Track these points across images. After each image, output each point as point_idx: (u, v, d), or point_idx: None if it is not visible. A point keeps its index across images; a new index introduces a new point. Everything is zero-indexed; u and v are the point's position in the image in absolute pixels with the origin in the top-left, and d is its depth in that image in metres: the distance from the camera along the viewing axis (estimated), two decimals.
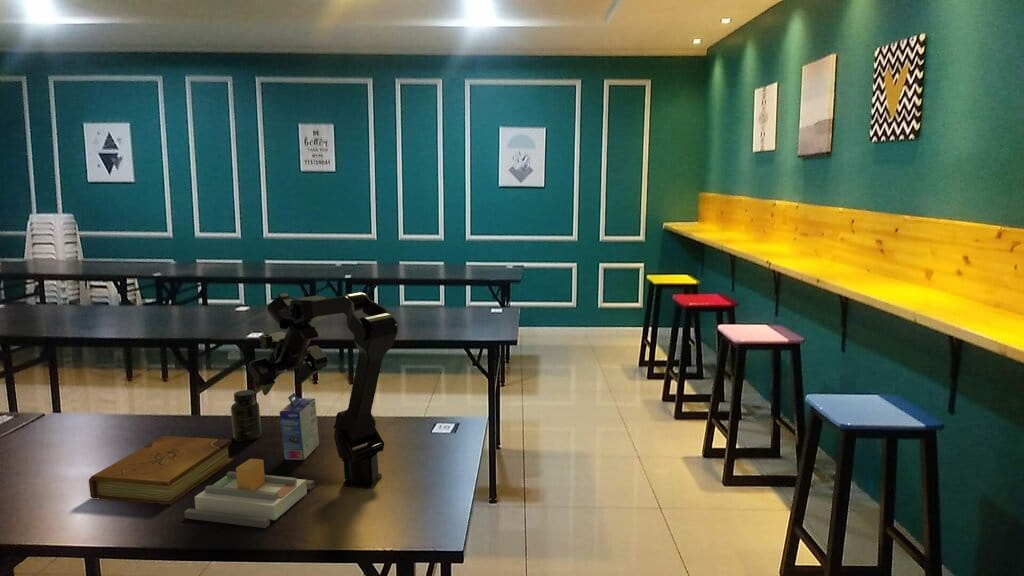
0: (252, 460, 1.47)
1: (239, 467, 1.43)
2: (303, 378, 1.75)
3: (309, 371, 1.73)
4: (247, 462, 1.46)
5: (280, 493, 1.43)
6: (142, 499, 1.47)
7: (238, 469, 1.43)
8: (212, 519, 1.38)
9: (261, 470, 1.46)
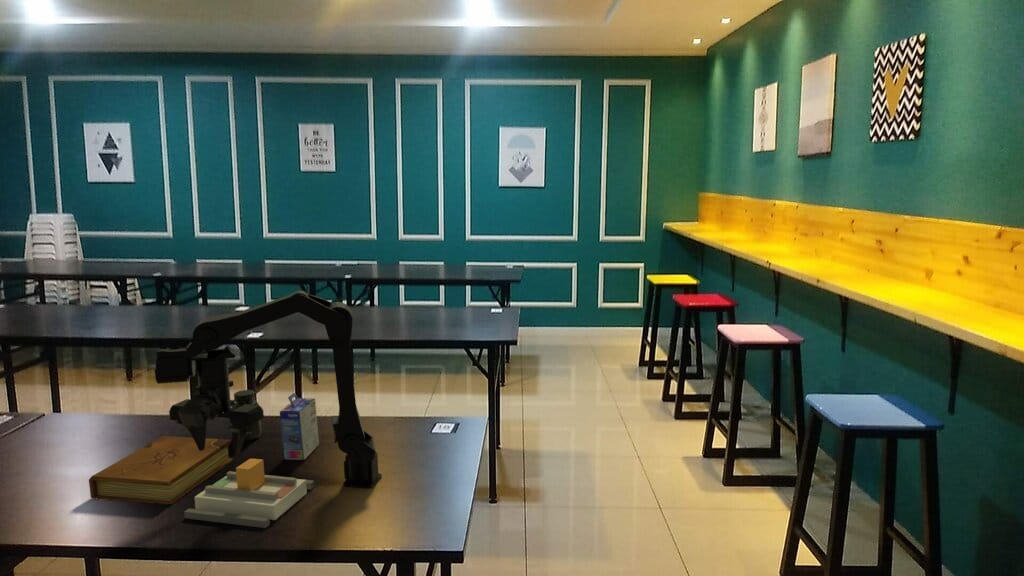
0: (252, 460, 1.47)
1: (239, 467, 1.43)
2: (204, 433, 1.48)
3: None
4: (247, 462, 1.46)
5: (280, 493, 1.43)
6: (142, 499, 1.47)
7: (238, 469, 1.43)
8: (212, 519, 1.38)
9: (261, 470, 1.46)
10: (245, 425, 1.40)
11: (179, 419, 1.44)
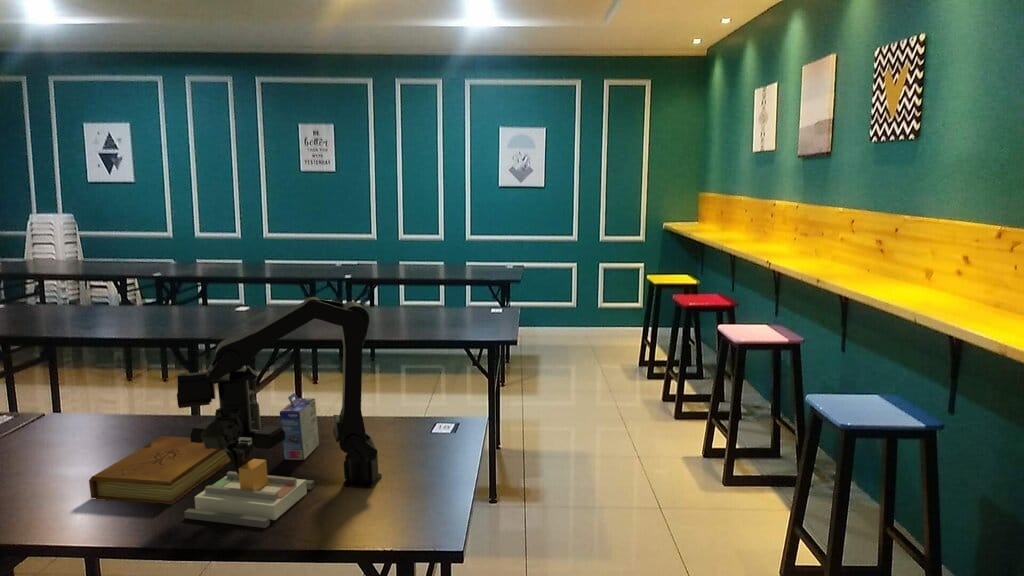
0: (255, 460, 1.46)
1: (242, 467, 1.43)
2: None
3: None
4: (250, 462, 1.45)
5: (280, 493, 1.43)
6: (143, 499, 1.47)
7: (241, 469, 1.43)
8: (212, 519, 1.38)
9: (263, 470, 1.46)
10: (267, 447, 1.40)
11: (200, 441, 1.43)
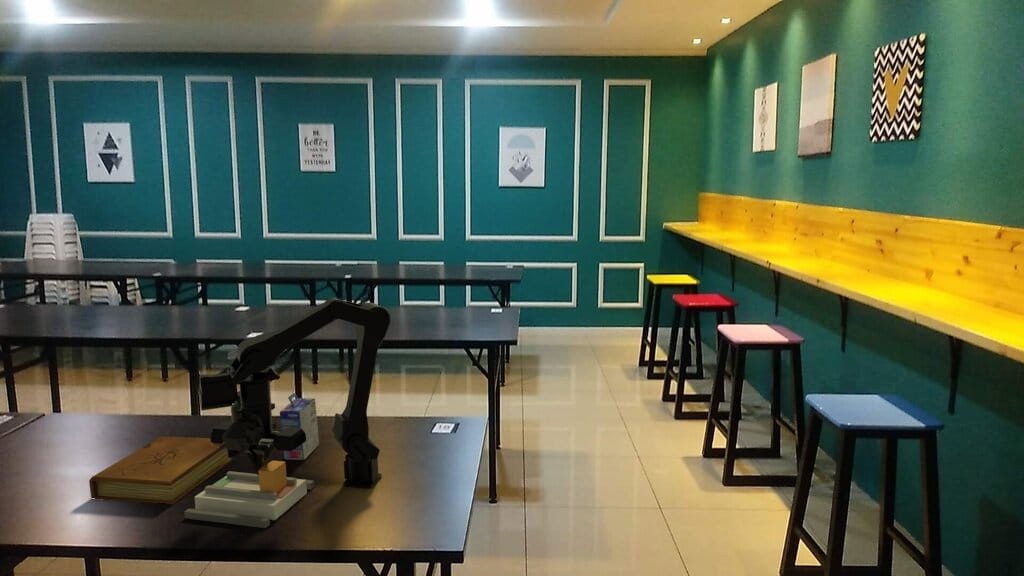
0: (274, 462, 1.45)
1: (262, 469, 1.42)
2: None
3: None
4: (269, 464, 1.44)
5: (280, 493, 1.43)
6: (144, 499, 1.47)
7: (261, 471, 1.42)
8: (212, 519, 1.38)
9: (283, 472, 1.45)
10: (289, 449, 1.39)
11: (220, 442, 1.42)
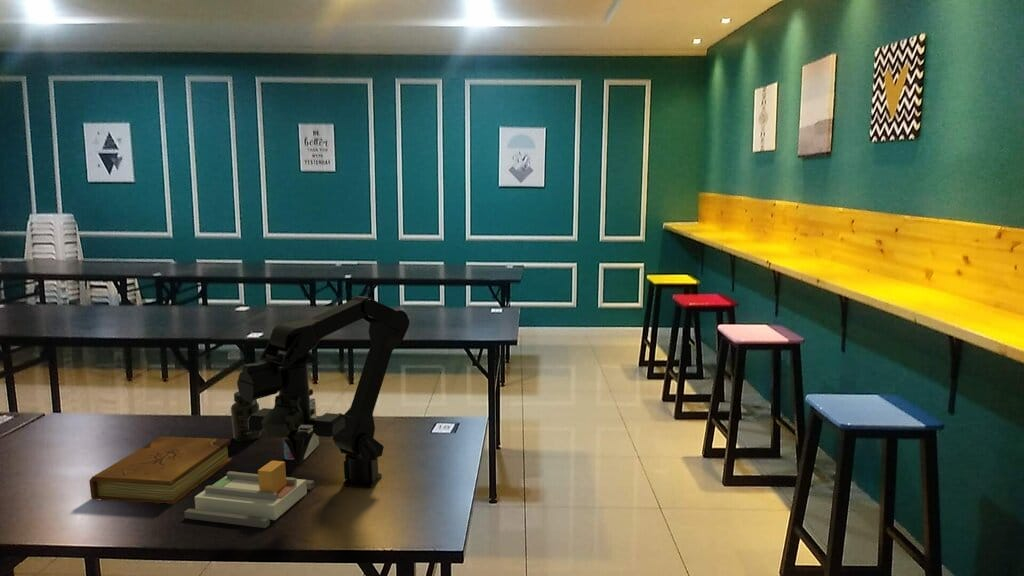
0: (274, 462, 1.45)
1: (261, 469, 1.42)
2: None
3: None
4: (269, 464, 1.44)
5: (280, 493, 1.43)
6: (144, 499, 1.47)
7: (260, 471, 1.42)
8: (212, 519, 1.38)
9: (282, 472, 1.45)
10: (329, 435, 1.36)
11: (259, 429, 1.40)
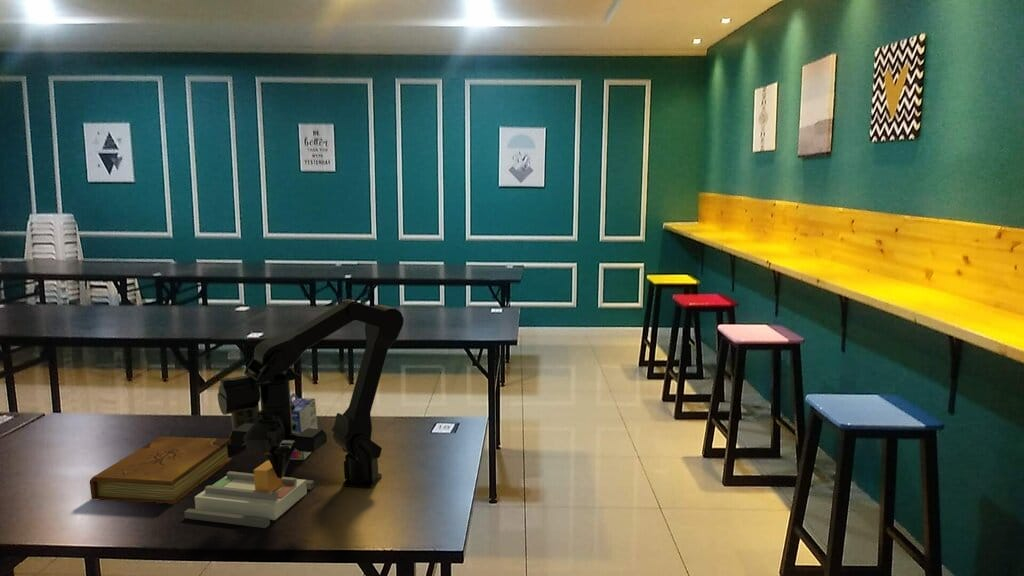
0: (269, 462, 1.46)
1: (257, 469, 1.42)
2: None
3: None
4: (265, 464, 1.45)
5: (280, 493, 1.43)
6: (145, 499, 1.47)
7: (256, 471, 1.42)
8: (212, 519, 1.38)
9: None
10: (311, 450, 1.37)
11: (240, 444, 1.41)
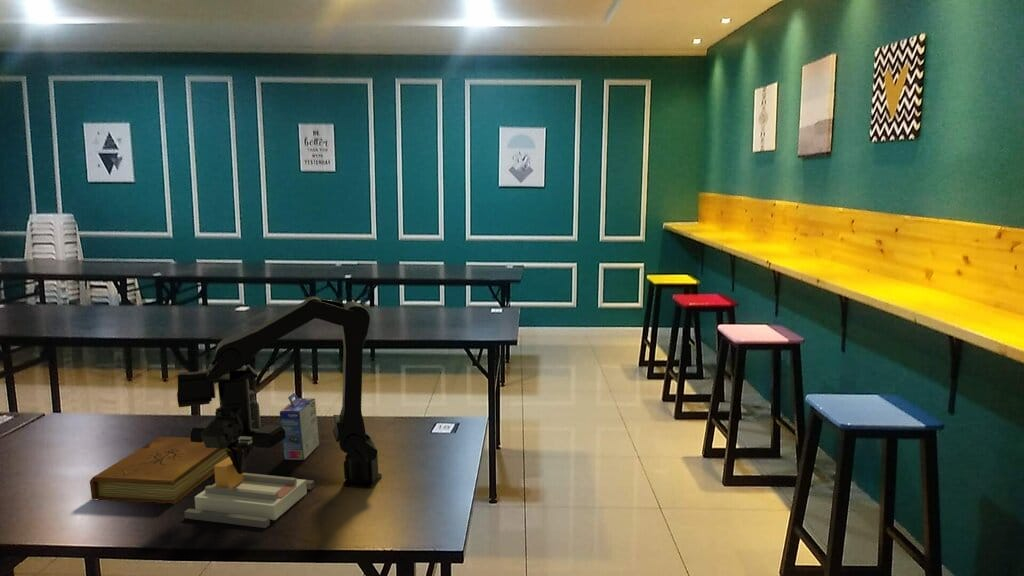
0: None
1: (217, 465, 1.44)
2: None
3: None
4: (225, 460, 1.47)
5: (280, 493, 1.43)
6: (145, 499, 1.47)
7: (216, 467, 1.44)
8: (212, 519, 1.38)
9: None
10: (268, 446, 1.40)
11: (200, 441, 1.43)
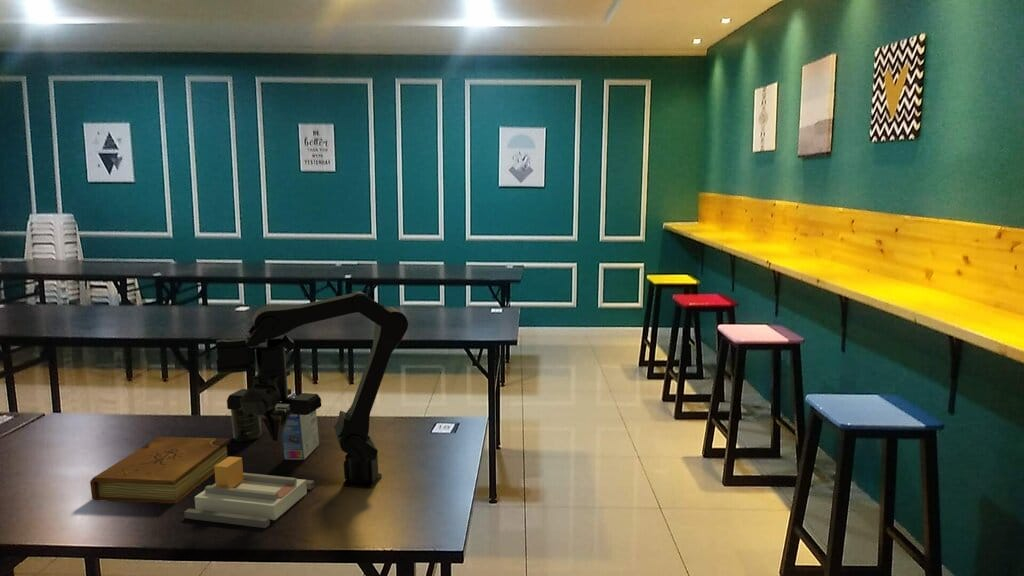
0: (231, 458, 1.48)
1: (217, 465, 1.44)
2: None
3: None
4: (226, 460, 1.47)
5: (280, 493, 1.43)
6: (146, 499, 1.47)
7: (216, 467, 1.44)
8: (212, 519, 1.38)
9: (239, 467, 1.47)
10: (305, 413, 1.41)
11: (237, 408, 1.45)
